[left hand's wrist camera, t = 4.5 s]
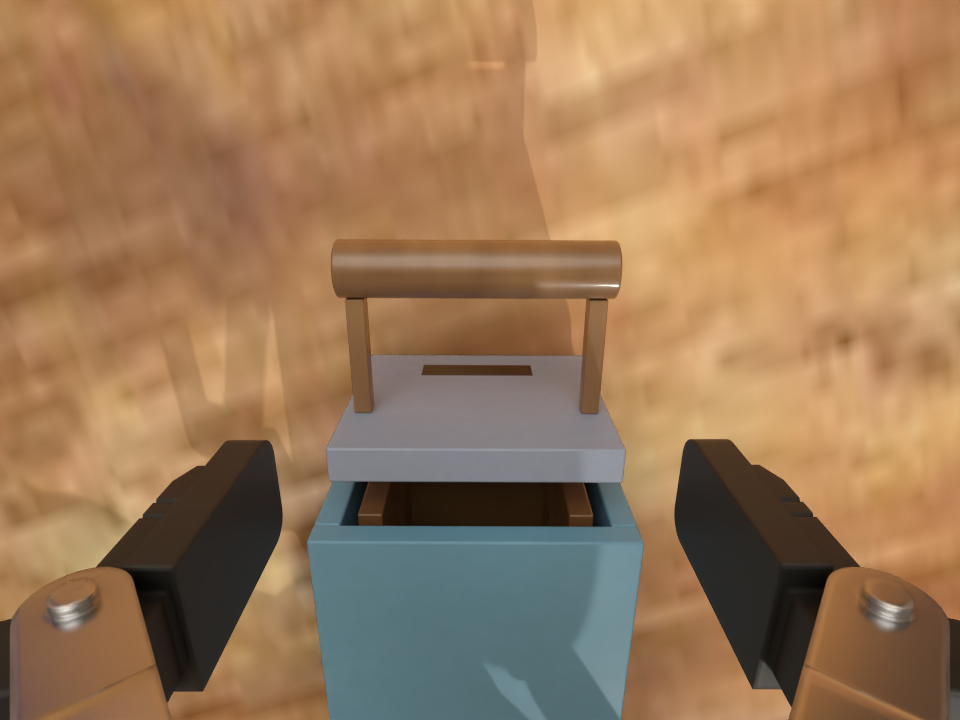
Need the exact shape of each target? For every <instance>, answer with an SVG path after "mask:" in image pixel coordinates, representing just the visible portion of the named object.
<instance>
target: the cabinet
mask: <svg viewBox="0 0 960 720" xmlns="http://www.w3.org/2000/svg"><path fill="white" fill-rule="evenodd" d="M368 483H369V482H334V481H333V482H332V485H331V487H330V489H329V492H328V494H327V496H326V499H325V501H324V503H323V506H322V508H321V510H320V513H319V515H318V517H317V520H316V522H315V525H314V527H313V529H312V532H311V534H310V536H309V539H308V541H307V547H308V554H309V562H310V570H311V578H312V585H313V593H314V601H315V609H316V616H317V624H318V632H319V640H320V647H321V655H322V663H323V671H324V678H325V686H326V694H327V702H328V709H329V717H330V720H621V716H622V708H623V701H624V693H625V685H626V678H627V670H628V663H629V655H630V647H631V640H632V632H633V625H634V617H635V609H636V602H637V594H638V586H639V579H640V571H641V564H642V556H643V548H644V542H643V540H642V537H641V535H640V532H639V530H638V528H637V525H636V522H635V520H634V517H633V515H632V512H631V510H630V507H629V505H628V502H627V500H626V497H625V495H624V492H623V490H622V487H621V485H620V483H585V482H584V486H585V489H586V492H587V496H588V499H589V502H590V506H591V509H592V513H593V516H594V517H593V527H546V526H359V522H358V513H359V510H360V507H361V504H362V501H363V498H364V495H365V492H366V489H367V486H368Z"/></svg>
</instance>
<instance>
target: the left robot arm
mask: <svg viewBox="0 0 960 720" xmlns="http://www.w3.org/2000/svg"><path fill="white" fill-rule="evenodd" d="M799 499H800V498H799V497H798V496H797V495H796V494H795V492H794V491H793V490H792V489H791V488H790V487H789V486H788V484H787V483H786V482H785V481H784V480H783V479H781V478H779V477H778V476H776V475H775V474H773V473H771V472H770V471H768V470H767V469H765V468H763V467H762V466H760V465H751V464H750V463H749V462H748V460H747V459H746V458H745V457H744V456H743V454H742V453H741V452H740V451H739V450H738V448H737V447H736V446H735V445H734V443H733V442H732V441H730V440H728V439H690V440H688V441H687V442H686V443H685V446H684V449H683V455H682V462H681V469H680V476H679V482H678V489H677V496H676V503H675V526H676V531H677V535H678V538H679V541H680V543H681V545H682V547H683V549H684V551H685V553H686V555H687V557H688V559H689V561H690V563H691V565H692V567H693V569H694V571H695V573H696V575H697V577H698V579H699V581H700V583H701V586H702V588H703V590H704V592H705V594H706V596H707V598H708V600H709V602H710V604H711V606H712V608H713V610H714V612H715V614H716V616H717V618H718V620H719V622H720V624H721V626H722V628H723V630H724V632H725V634H726V636H727V638H728V640H729V642H730V644H731V646H732V648H733V650H734V652H735V654H736V656H737V658H738V661H739V663H740V665H741V667H742V669H743V671H744V673H745V675H746V677H747V679H748V681H749V683H750V685H751V687H752V689H782V691H783V693H784V694H785V696H786V698H787V700H788V702H789V704H790V705H791V707H792V709H791V712H790V716H789V720H960V621H959V620H954V619H950V618H947V616H946V614H945V612H944V611H943V610H942V608H941V607H940V606H939V605H938V604H937V603H936V602H935V601H934V600H933V599H932V598H931V597H930V596H929V595H927V594H926V593H925V592H923V591H922V590H920V589H919V588H917V587H916V586H914V585H912V584H911V583H909V582H907V581H905V580H903V579H901V578H899V577H896V576H894V575H891V574H889V573H885V572H882V571H879V570H874V569H870V568H863V567H860V566H859V565H858V564H857V563H856V561H855V560H854V559H853V558H852V557H851V556H850V555H849V554H848V552H847V551H846V550H845V549H844V548H843V547H842V546H841V544H840V543H839V542H838V541H837V540H836V539H835V538H834V537H833V535H832V534H831V533H830V532H829V531H828V530H827V529H826V527H825V526H824V525H823V524H822V523H821V522H820V521H819V520H818V518H817V517H813V513H812V512H811V511H810V509H809V508H808V507H807V506H806V505H805V504H804V503H803V502H800V500H799ZM281 527H282V504H281V497H280V490H279V484H278V477H277V470H276V463H275V457H274V451H273V447H272V445H271V443H270V442H269V441H267V440H228V441H226V442H225V443H224V444H223V445H222V446H221V447H220V449H219V450H218V451H217V452H216V453H215V455H214V456H213V457H212V458H211V459H210V461H209V462H208V463H207V464H206V465H205V466H196V467H195V468H193V469H192V470H190V471H188V472H187V473H185V474H184V475H182V476H180V477H179V478H177V479H175V480H174V481H172V482H171V484H170V485H169V486H168V487H167V488H166V489H165V490H164V491H163V493H162V494H161V495H160V496H159V497H158V498H157V499H156V503H153V504H152V505H151V506H150V507H149V508H148V509H147V511H146V512H145V513H144V514H143V518H139V519H138V521H137V522H136V523H135V524H134V525H133V526H132V527H131V528H130V530H129V531H128V532H127V533H126V534H125V535H124V536H123V537H122V539H121V540H120V541H119V542H118V543H117V544H116V545H115V546H114V548H113V549H112V550H111V551H110V552H109V553H108V554H107V555H106V556H105V558H104V559H103V560H102V561H101V562H100V563H99V564H98V565H97V567H96V568H90V569H86V570H81V571H78V572H75V573H71V574H69V575H66V576H64V577H61V578H59V579H57V580H55V581H53V582H51V583H49V584H48V585H46V586H44V587H43V588H41V589H40V590H38V591H37V592H35V593H34V594H33V595H31V596H30V597H29V598H28V599H27V600H26V601H25V602H24V603H23V604H22V605H21V606H20V607H19V608H18V610H17V611H16V612H15V614H14V616H13V618H12V619H9V620H5V621H1V622H0V720H171V716H170V712H169V709H168V705H167V703H168V701H169V699H170V697H171V695H172V693H173V692H174V691H203V690H204V688H205V686H206V684H207V682H208V680H209V678H210V676H211V674H212V672H213V670H214V668H215V666H216V664H217V662H218V660H219V658H220V656H221V654H222V652H223V650H224V648H225V646H226V644H227V642H228V640H229V638H230V636H231V634H232V632H233V630H234V628H235V626H236V624H237V622H238V620H239V618H240V616H241V614H242V612H243V610H244V608H245V606H246V604H247V602H248V600H249V598H250V596H251V594H252V592H253V590H254V588H255V586H256V584H257V582H258V580H259V578H260V576H261V574H262V572H263V570H264V568H265V566H266V564H267V562H268V560H269V558H270V556H271V554H272V552H273V550H274V548H275V546H276V544H277V542H278V539H279V536H280V532H281Z"/></svg>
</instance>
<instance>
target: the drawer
mask: <svg viewBox="0 0 960 720" xmlns="http://www.w3.org/2000/svg"><path fill="white" fill-rule="evenodd" d="M331 276H332V283H333V288H334V291H335V293H336V295H337V297H339V298H346V300H345V306H346V318H347V330H348V342H349V354H350V365H351V377H352V389H353V395H352V397H351V399H350V401H349V403H348V405H347V408H346V410H345V412H344V414H343V416H342V418H341V420H340V422H339V424H338V426H337V428H336V430H335V432H334V434H333V436H332V438H331V440H330V442H329V444H328V446H327V448H326V456H327V465H328V474H329V480H330V481H334V482H369V483H368V486H367V489H366V492H365V495H364V498H363V501H362V504H361V507H360V510H359V513H358V522H359V526H546V527H593V517H594V516H593V513H592V509H591V506H590V502H589V499H588V496H587V492H586V489H585V486H584V482H585V483H621V482H622V481H623V473H624V464H625V454H626V450H625V447H624V445H623V443H622V441H621V439H620V437H619V434H618V432H617V430H616V428H615V426H614V424H613V421H612V419H611V417H610V415H609V413H608V411H607V408H606V406H605V404H604V402H603V400H602V398H601V395H600V390H601V379H602V367H603V356H604V344H605V333H606V321H607V310H608V300H607V299H614V298H616V297H617V295H618V292H619V289H620V285H621V278H622V254H621V248H620V245H619V243H618V242H617V241H564V240H336V241H335V242H334V245H333V248H332V254H331ZM367 298H506V299H586V312H585V326H584V339H583V353H582V356H512V355H372V357H371V349H370V335H369V321H368V306H367Z"/></svg>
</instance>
